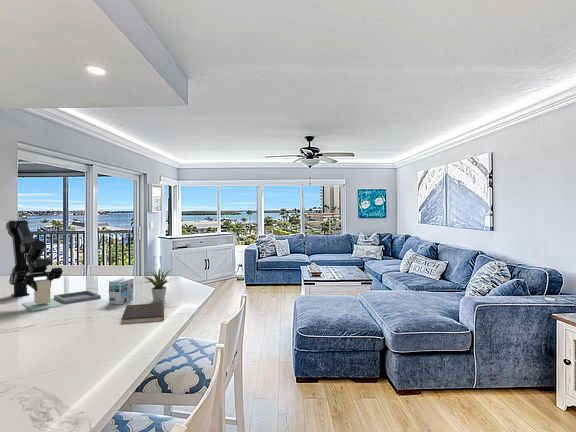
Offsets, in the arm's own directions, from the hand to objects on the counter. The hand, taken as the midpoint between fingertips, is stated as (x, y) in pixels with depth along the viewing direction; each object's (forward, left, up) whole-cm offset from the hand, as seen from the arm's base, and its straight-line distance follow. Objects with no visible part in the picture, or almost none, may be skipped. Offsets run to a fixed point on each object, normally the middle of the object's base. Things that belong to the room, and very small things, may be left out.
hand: (43, 289), depth 176 cm
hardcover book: (+45, +26, -9) cm, 52 cm away
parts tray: (-4, +16, -8) cm, 18 cm away
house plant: (+26, +44, -8) cm, 51 cm away
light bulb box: (+16, +29, -8) cm, 34 cm away
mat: (-1, 0, -8) cm, 8 cm away
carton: (-1, 0, -6) cm, 6 cm away
